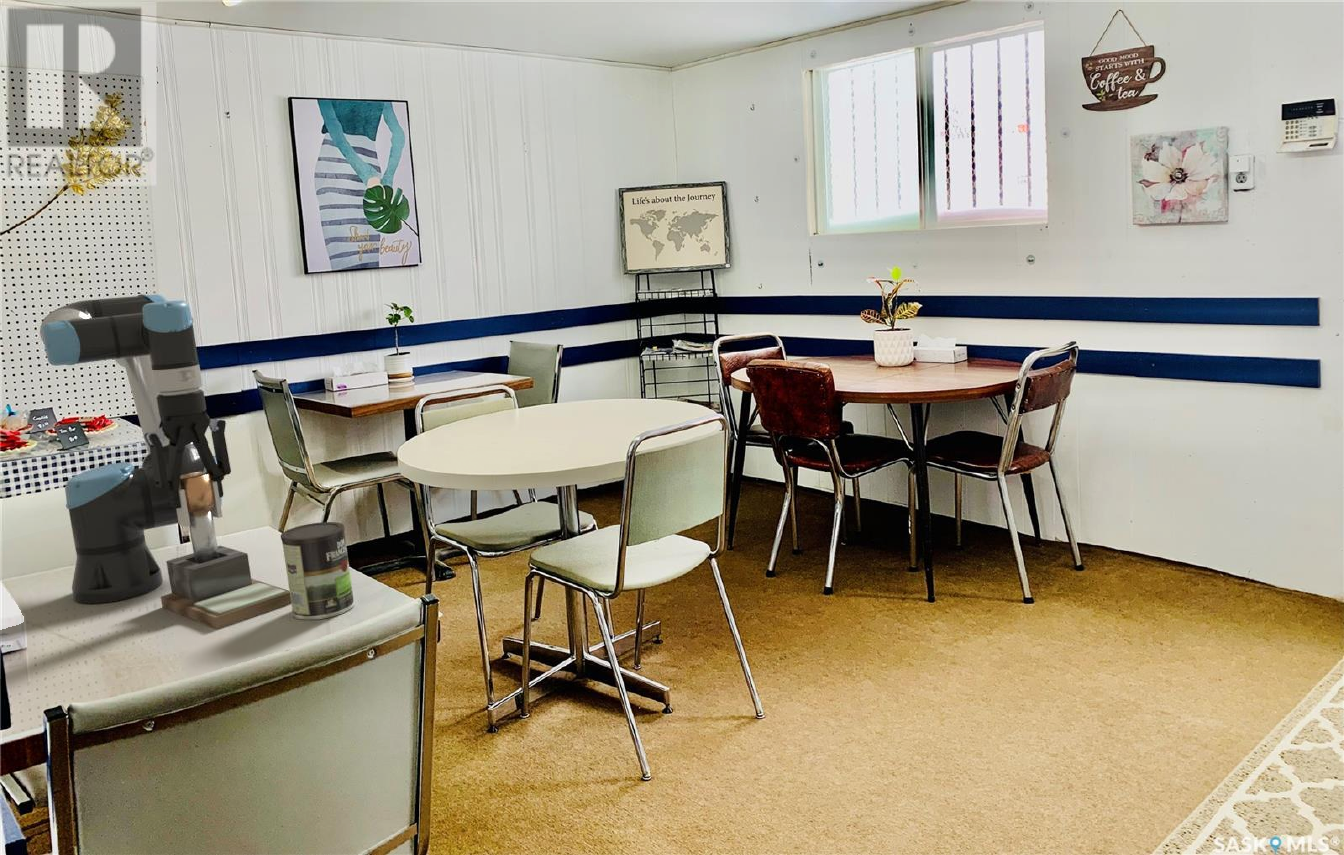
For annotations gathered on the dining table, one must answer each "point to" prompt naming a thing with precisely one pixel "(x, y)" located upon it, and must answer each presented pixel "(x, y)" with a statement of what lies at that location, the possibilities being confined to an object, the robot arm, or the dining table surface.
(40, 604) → the dining table surface
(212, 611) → the board
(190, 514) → the peg
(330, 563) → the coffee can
